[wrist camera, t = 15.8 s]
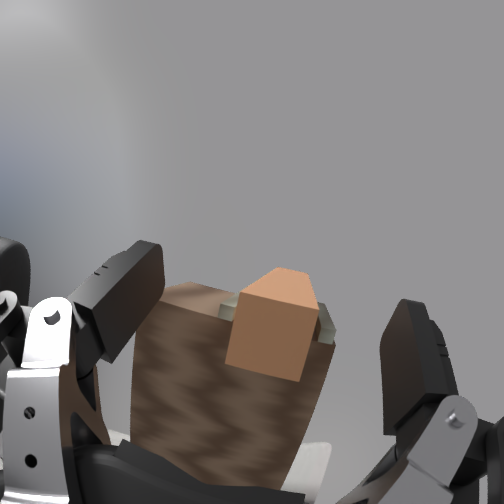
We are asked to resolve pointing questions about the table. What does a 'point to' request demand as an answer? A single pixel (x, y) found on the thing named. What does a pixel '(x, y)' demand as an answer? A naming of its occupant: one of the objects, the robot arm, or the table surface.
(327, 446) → the table surface
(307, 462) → the table surface
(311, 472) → the table surface
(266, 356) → the tan wooden block
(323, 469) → the table surface
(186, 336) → the stand
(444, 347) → the robot arm
